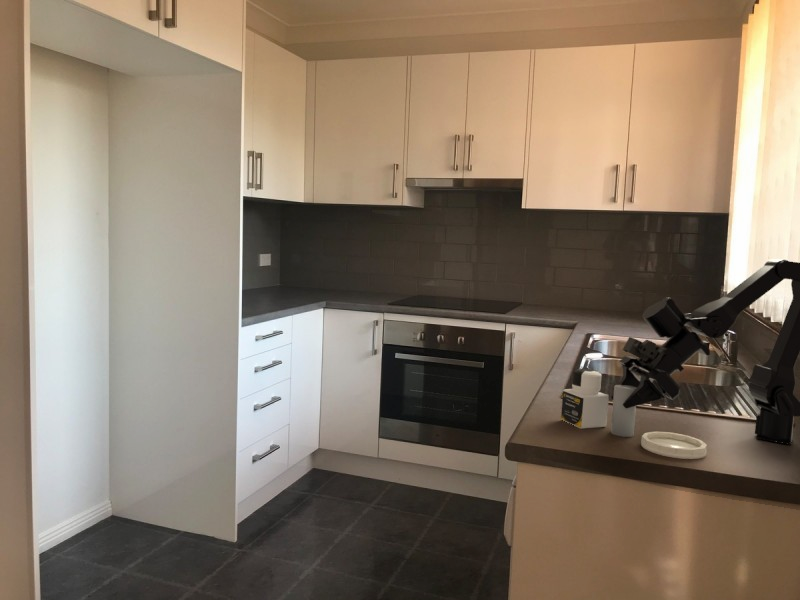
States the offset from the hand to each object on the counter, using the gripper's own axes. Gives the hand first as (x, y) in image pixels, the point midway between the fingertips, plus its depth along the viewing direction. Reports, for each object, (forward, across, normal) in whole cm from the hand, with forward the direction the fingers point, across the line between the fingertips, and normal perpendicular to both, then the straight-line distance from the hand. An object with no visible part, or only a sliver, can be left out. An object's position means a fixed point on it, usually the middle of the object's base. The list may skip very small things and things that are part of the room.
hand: (618, 402), depth 142 cm
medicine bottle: (+8, -7, +2) cm, 11 cm away
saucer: (-1, +10, +10) cm, 14 cm away
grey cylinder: (+4, 0, +6) cm, 7 cm away
